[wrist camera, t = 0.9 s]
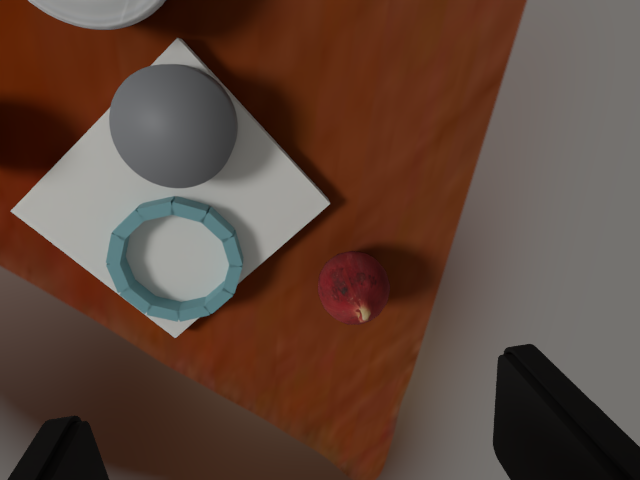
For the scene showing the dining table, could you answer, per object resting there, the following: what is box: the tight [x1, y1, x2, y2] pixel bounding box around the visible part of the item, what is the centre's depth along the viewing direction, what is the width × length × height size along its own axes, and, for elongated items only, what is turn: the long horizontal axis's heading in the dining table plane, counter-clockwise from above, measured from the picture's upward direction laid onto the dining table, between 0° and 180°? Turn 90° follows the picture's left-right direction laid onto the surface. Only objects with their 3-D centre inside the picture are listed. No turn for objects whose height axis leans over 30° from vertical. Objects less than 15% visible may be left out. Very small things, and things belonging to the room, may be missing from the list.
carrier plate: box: [11, 38, 330, 338], centre depth 33 cm, size 18×16×4 cm
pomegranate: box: [318, 251, 390, 324], centre depth 35 cm, size 6×6×8 cm
